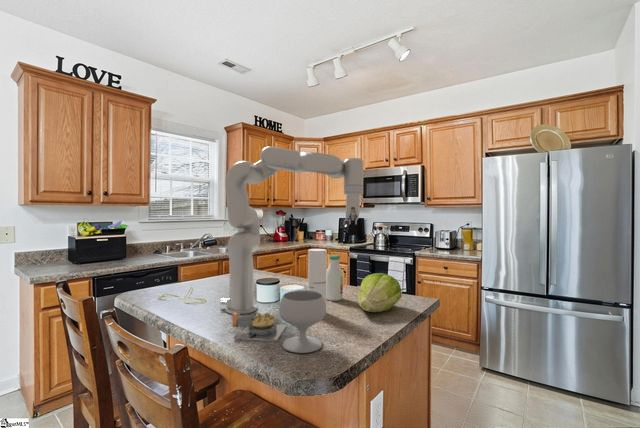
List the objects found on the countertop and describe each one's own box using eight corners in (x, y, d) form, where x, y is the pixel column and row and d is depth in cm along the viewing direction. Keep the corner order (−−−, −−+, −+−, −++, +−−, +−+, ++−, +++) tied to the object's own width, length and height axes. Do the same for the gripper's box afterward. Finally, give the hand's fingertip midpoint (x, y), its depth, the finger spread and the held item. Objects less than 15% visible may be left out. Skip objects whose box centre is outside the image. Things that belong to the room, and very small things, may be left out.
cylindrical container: (324, 316, 122) (324, 251, 122) (306, 315, 124) (306, 250, 124) (327, 311, 129) (327, 249, 129) (310, 309, 131) (310, 248, 131)
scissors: (154, 299, 146) (154, 289, 146) (171, 294, 156) (171, 284, 155) (197, 306, 137) (197, 294, 137) (213, 300, 146) (213, 289, 146)
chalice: (335, 348, 94) (335, 296, 94) (294, 360, 86) (294, 304, 86) (309, 333, 105) (309, 287, 105) (270, 343, 97) (270, 293, 97)
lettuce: (342, 316, 126) (345, 281, 123) (366, 295, 146) (370, 265, 144) (383, 331, 117) (388, 294, 115) (403, 306, 138) (407, 275, 135)
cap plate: (235, 339, 100) (235, 332, 100) (250, 324, 113) (250, 318, 113) (276, 341, 98) (276, 334, 98) (286, 326, 111) (286, 320, 111)
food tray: (274, 320, 110) (274, 308, 110) (274, 328, 102) (274, 315, 102) (233, 322, 108) (233, 310, 108) (230, 330, 101) (230, 317, 101)
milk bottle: (337, 302, 143) (337, 257, 142) (322, 299, 147) (322, 255, 147) (345, 298, 149) (345, 255, 149) (331, 296, 153) (331, 254, 153)
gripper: (344, 192, 134) (344, 233, 134) (342, 188, 117) (342, 236, 117) (363, 192, 133) (362, 233, 133) (363, 188, 116) (363, 236, 116)
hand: (353, 234), depth 125 cm, fingers open, 9 cm apart
